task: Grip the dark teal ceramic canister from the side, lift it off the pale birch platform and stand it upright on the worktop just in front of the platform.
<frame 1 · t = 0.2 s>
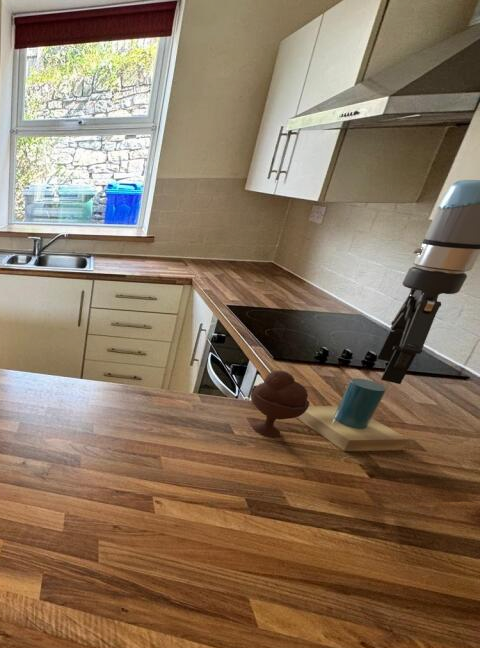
hand: (387, 370, 84), 19 cm above the worktop, tool pointing down, fingers open, 13 cm apart
platform: (344, 432, 96), on the worktop
canister: (350, 421, 94), point 3 cm above the worktop, touching platform
ice cream bowl: (265, 431, 95), on the worktop
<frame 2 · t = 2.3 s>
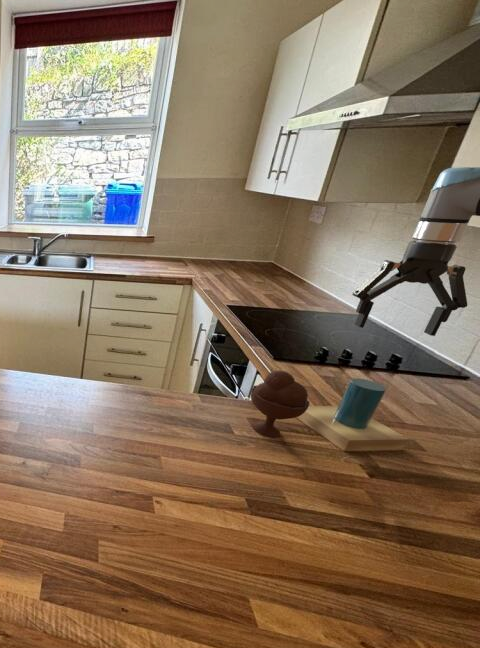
hand: (393, 330, 99), 21 cm above the worktop, tool pointing down, fingers open, 13 cm apart
nothing on the worktop moved.
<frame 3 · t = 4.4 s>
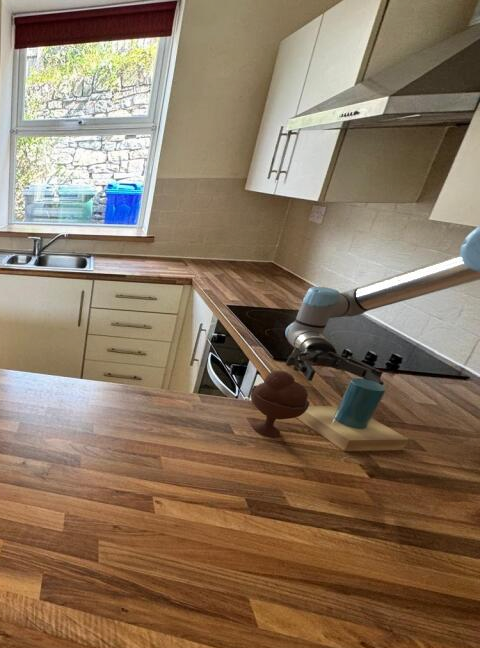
hand: (344, 381, 100), 9 cm above the worktop, tool horizontal, fingers open, 13 cm apart
nothing on the worktop moved.
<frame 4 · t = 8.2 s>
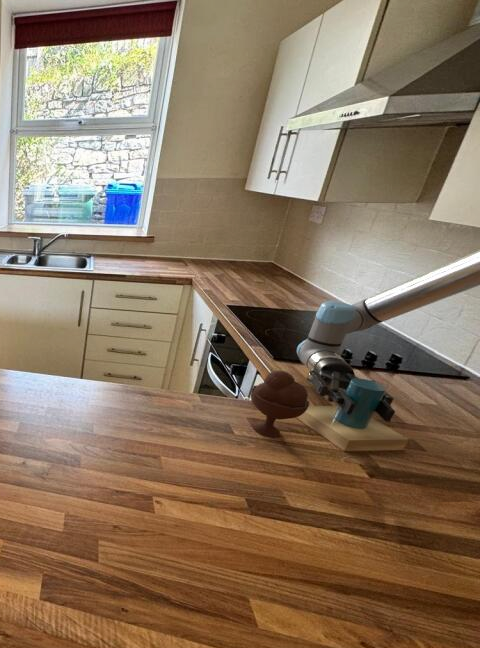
hand: (370, 412, 88), 8 cm above the worktop, tool horizontal, fingers closed on canister, 6 cm apart
canister: (350, 421, 94), point 3 cm above the worktop, touching gripper, platform
everything else where it was.
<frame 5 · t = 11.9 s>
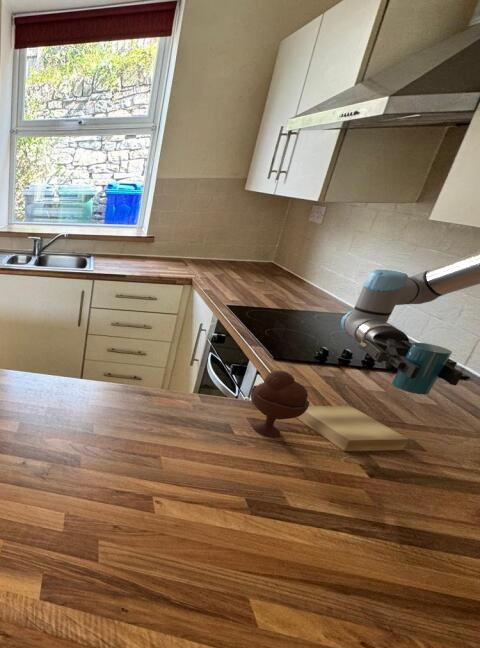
hand: (435, 376, 85), 18 cm above the worktop, tool horizontal, fingers closed on canister, 6 cm apart
canister: (409, 387, 91), point 12 cm above the worktop, touching gripper
everything else where it was.
when the fingers open (5 cm above the worktop, at t = 15.7 s): canister stays where it is, on the worktop.
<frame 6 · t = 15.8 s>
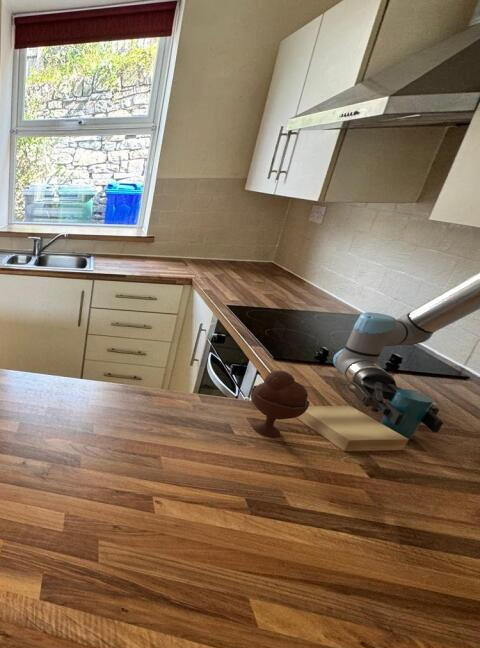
hand: (418, 423, 90), 5 cm above the worktop, tool horizontal, fingers open, 6 cm apart
canister: (395, 431, 96), on the worktop
everything else where it was.
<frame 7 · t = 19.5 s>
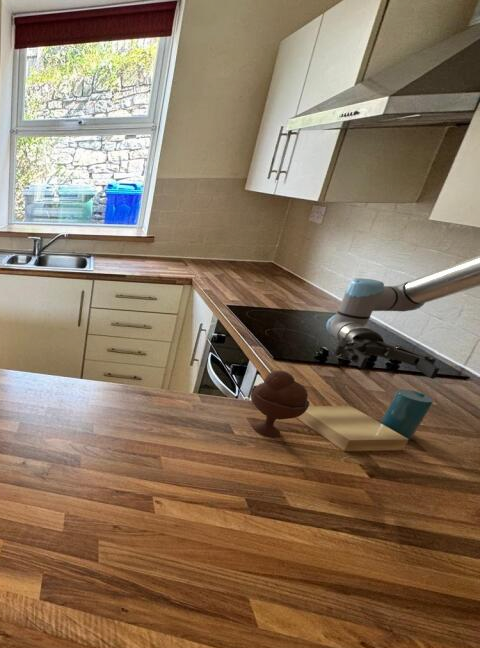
hand: (398, 368, 99), 13 cm above the worktop, tool horizontal, fingers open, 13 cm apart
nothing on the worktop moved.
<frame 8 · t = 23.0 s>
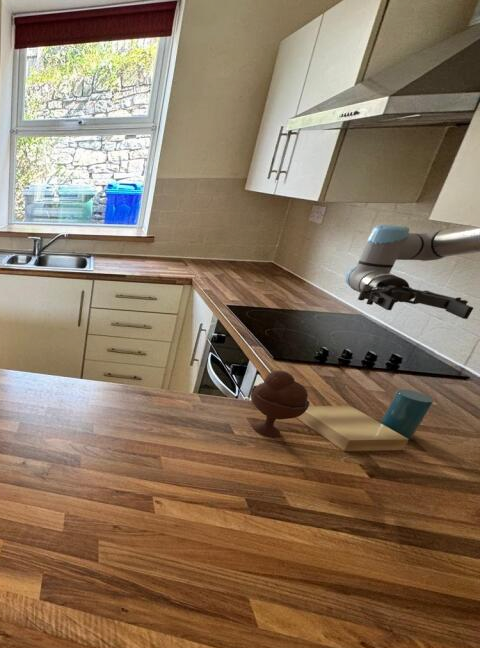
hand: (429, 308, 93), 28 cm above the worktop, tool horizontal, fingers open, 13 cm apart
nothing on the worktop moved.
at the end: canister inside the target area (0.1 cm from its centre), on the worktop; canister tilted 0°; canister touching worktop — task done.
